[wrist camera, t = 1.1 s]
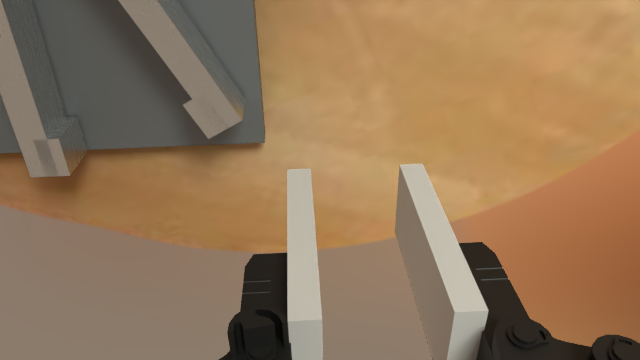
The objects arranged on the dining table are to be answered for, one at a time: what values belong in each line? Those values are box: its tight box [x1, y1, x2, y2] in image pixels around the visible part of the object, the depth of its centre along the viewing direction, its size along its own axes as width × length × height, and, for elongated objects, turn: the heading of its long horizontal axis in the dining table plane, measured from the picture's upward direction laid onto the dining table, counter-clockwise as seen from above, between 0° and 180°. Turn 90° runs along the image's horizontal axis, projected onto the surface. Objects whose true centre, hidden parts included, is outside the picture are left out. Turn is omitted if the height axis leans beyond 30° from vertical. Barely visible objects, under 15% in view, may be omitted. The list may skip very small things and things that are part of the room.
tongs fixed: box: [0, 0, 87, 177], centre depth 26 cm, size 18×3×4 cm, turn 1°
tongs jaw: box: [118, 0, 246, 139], centre depth 27 cm, size 15×2×3 cm, turn 29°
